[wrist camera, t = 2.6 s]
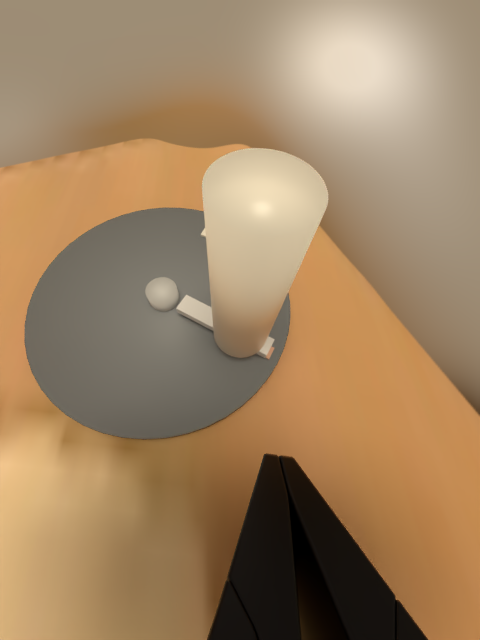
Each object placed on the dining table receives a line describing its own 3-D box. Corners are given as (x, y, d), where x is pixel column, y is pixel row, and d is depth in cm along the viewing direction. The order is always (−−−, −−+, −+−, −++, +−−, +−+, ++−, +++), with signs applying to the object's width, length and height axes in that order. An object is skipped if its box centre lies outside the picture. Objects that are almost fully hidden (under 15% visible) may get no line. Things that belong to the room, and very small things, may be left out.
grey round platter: (103, 515, 15) (85, 527, 13) (-5, 277, 22) (-28, 261, 20) (338, 329, 22) (349, 318, 20) (201, 187, 28) (199, 168, 26)
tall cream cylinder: (168, 325, 19) (90, 163, 8) (195, 287, 21) (164, 105, 10) (257, 373, 18) (317, 264, 7) (279, 329, 20) (358, 180, 8)
